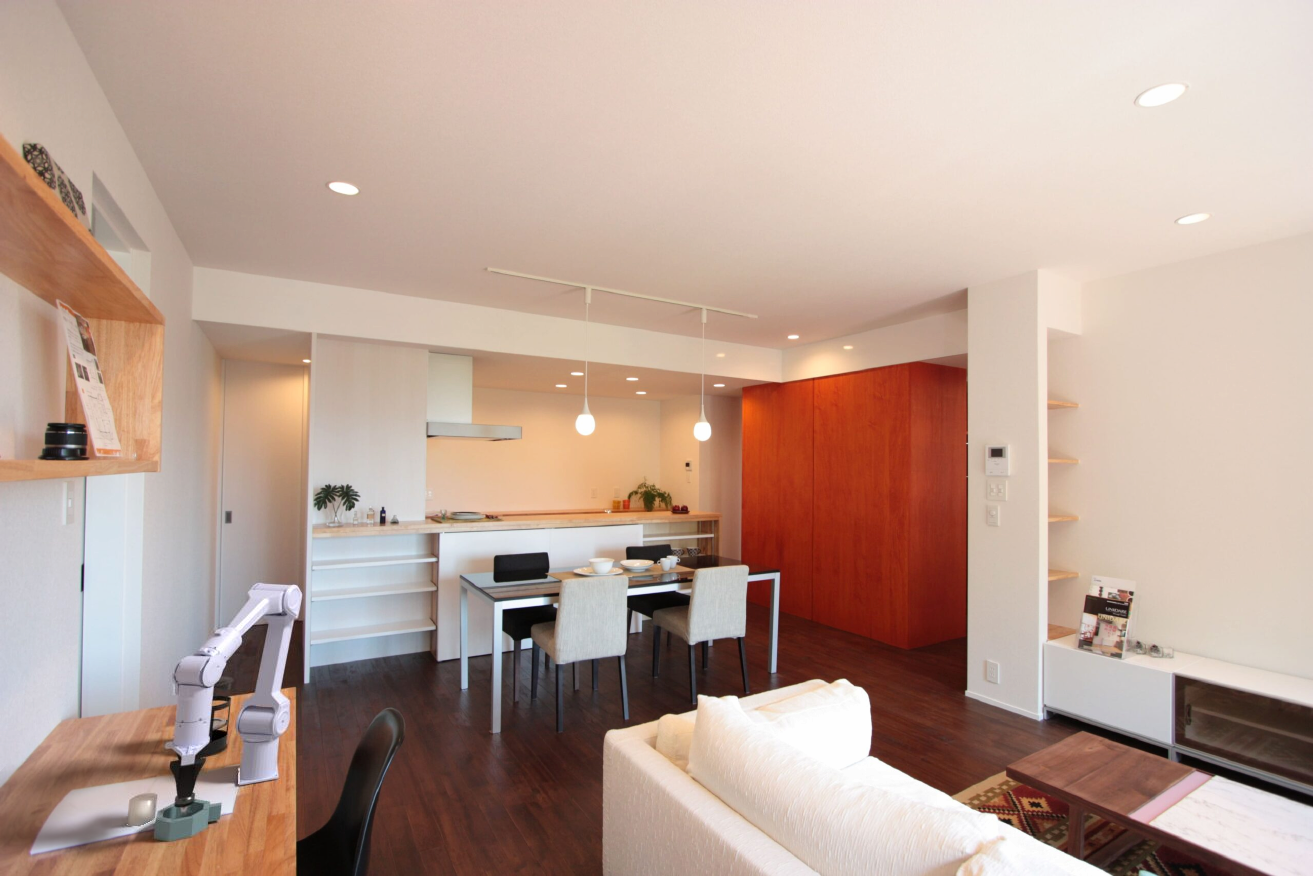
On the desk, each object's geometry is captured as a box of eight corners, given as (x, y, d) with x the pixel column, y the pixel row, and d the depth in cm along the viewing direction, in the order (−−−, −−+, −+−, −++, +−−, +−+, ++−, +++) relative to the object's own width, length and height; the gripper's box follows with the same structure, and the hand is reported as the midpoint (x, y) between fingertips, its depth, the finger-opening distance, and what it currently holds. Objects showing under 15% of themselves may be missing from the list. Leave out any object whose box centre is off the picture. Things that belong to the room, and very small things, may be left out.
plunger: (167, 824, 125) (170, 793, 126) (198, 818, 128) (201, 787, 128) (164, 836, 121) (167, 804, 122) (196, 830, 124) (199, 798, 124)
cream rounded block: (128, 818, 127) (131, 795, 128) (156, 813, 130) (158, 791, 130) (125, 829, 124) (127, 805, 124) (153, 823, 126) (156, 800, 126)
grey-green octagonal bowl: (157, 824, 126) (159, 805, 126) (220, 811, 131) (222, 794, 132) (151, 845, 119) (154, 825, 119) (219, 831, 124) (221, 812, 125)
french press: (228, 753, 158) (238, 659, 160) (182, 762, 152) (192, 664, 154) (225, 737, 167) (234, 648, 169) (181, 745, 162) (191, 652, 164)
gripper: (171, 708, 130) (164, 777, 129) (164, 734, 118) (156, 810, 117) (213, 703, 134) (206, 770, 133) (210, 727, 122) (203, 801, 121)
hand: (186, 788), depth 125 cm, fingers open, 7 cm apart
